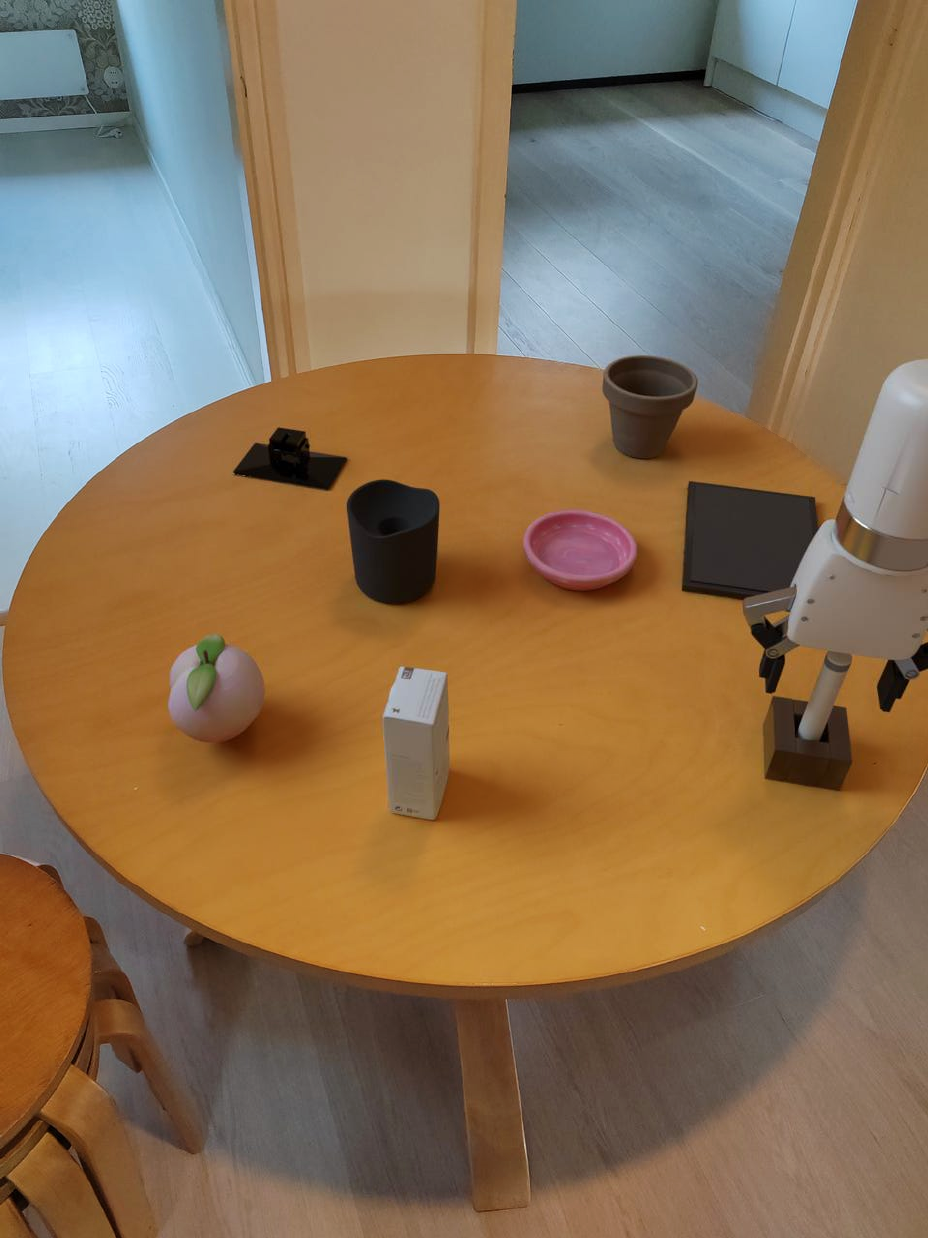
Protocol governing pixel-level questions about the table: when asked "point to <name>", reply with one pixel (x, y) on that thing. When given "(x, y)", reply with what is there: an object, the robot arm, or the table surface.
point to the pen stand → (805, 747)
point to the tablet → (744, 539)
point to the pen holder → (393, 540)
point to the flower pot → (646, 401)
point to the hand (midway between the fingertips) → (825, 690)
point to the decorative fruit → (215, 690)
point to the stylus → (824, 695)
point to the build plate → (291, 461)
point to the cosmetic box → (417, 742)
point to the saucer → (579, 549)
